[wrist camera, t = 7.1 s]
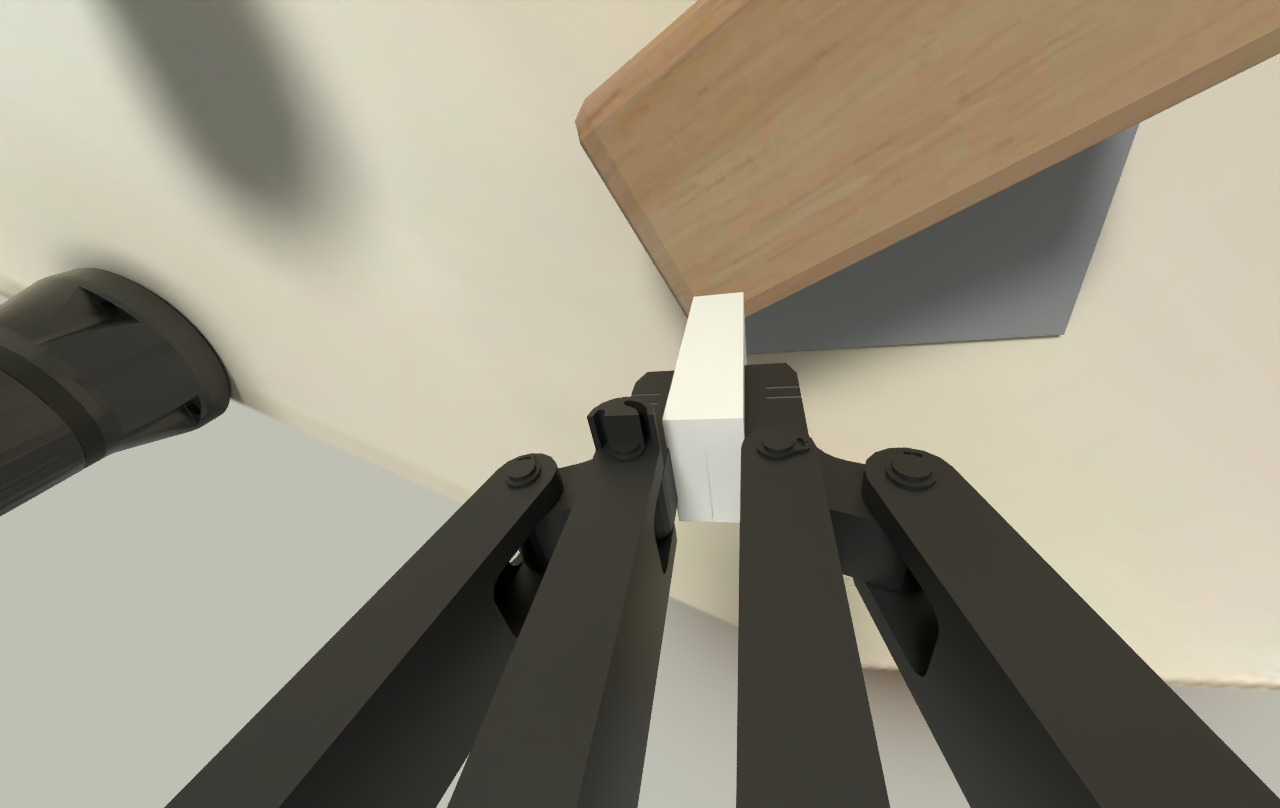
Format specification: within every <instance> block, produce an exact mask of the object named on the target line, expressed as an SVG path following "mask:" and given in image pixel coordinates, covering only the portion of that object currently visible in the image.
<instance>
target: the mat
mask: <svg viewBox="0 0 1280 808" xmlns="http://www.w3.org/2000/svg"><path fill="white" fill-rule="evenodd" d="M1138 126H1139V123H1138V124H1136V125H1134V126H1132V127H1130V128H1127V129H1125V130H1123V131H1121V132H1119V133H1117V134H1115V135H1113V136H1111V137H1109V138H1107V139H1105V140H1103V141H1101V142H1099V143H1097V144H1095V145H1093V146H1091V147H1089V148H1087V149H1085V150H1083V151H1081V152H1079V153H1077V154H1075V155H1073V156H1071V157H1069V158H1067V159H1065V160H1063V161H1061V162H1059V163H1057V164H1055V165H1053V166H1051V167H1049V168H1047V169H1045V170H1043V171H1041V172H1039V173H1037V174H1035V175H1033V176H1031V177H1029V178H1027V179H1024V180H1022V181H1020V182H1018V183H1016V184H1014V185H1012V186H1010V187H1008V188H1006V189H1004V190H1002V191H1000V192H998V193H996V194H994V195H992V196H990V197H988V198H986V199H984V200H982V201H980V202H978V203H976V204H974V205H972V206H970V207H968V208H966V209H964V210H962V211H960V212H958V213H956V214H954V215H952V216H950V217H948V218H946V219H944V220H942V221H940V222H938V223H936V224H934V225H932V226H930V227H928V228H926V229H924V230H921V231H919V232H917V233H915V234H913V235H911V236H909V237H907V238H905V239H903V240H901V241H899V242H897V243H895V244H893V245H891V246H889V247H887V248H885V249H883V250H881V251H879V252H877V253H875V254H873V255H871V256H869V257H867V258H865V259H863V260H861V261H859V262H857V263H855V264H853V265H851V266H849V267H847V268H845V269H843V270H841V271H839V272H837V273H835V274H833V275H831V276H829V277H827V278H825V279H823V280H820V281H818V282H816V283H814V284H812V285H810V286H808V287H806V288H804V289H802V290H800V291H798V292H796V293H794V294H792V295H790V296H788V297H786V298H784V299H782V300H780V301H778V302H776V303H774V304H772V305H770V306H768V307H766V308H764V309H762V310H760V311H758V312H756V313H754V314H752V315H750V316H748V317H746V318H745V336H746V354H760V353H776V352H792V351H808V350H824V349H840V348H856V347H872V346H888V345H904V344H920V343H936V342H952V341H968V340H984V339H1000V338H1016V337H1032V336H1048V335H1064V333H1065V330H1066V327H1067V324H1068V322H1069V319H1070V316H1071V313H1072V310H1073V308H1074V305H1075V302H1076V299H1077V296H1078V294H1079V291H1080V288H1081V285H1082V282H1083V280H1084V277H1085V274H1086V271H1087V268H1088V266H1089V263H1090V260H1091V257H1092V254H1093V252H1094V249H1095V246H1096V243H1097V240H1098V238H1099V235H1100V232H1101V229H1102V226H1103V224H1104V221H1105V218H1106V215H1107V212H1108V210H1109V207H1110V204H1111V201H1112V198H1113V196H1114V193H1115V190H1116V187H1117V184H1118V182H1119V179H1120V176H1121V173H1122V170H1123V168H1124V165H1125V162H1126V159H1127V156H1128V154H1129V151H1130V148H1131V145H1132V142H1133V140H1134V137H1135V134H1136V131H1137V129H1138Z"/></svg>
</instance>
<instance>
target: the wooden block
mask: <svg viewBox="0 0 1280 808" xmlns="http://www.w3.org/2000/svg"><path fill="white" fill-rule="evenodd" d="M1279 53H1280V0H698V1H697V2H696V3H695V4H693V5H692V6H691V7H690V8H689V9H688V10H687V11H685V12H684V13H683V14H682V15H681V16H680V17H679V18H677V19H676V20H675V21H674V22H673V23H672V24H671V25H669V26H668V27H667V28H666V29H665V30H664V31H663V32H661V33H660V34H659V35H658V36H657V37H656V38H655V39H653V40H652V41H651V42H650V43H649V44H648V45H647V46H645V47H644V48H643V49H642V50H641V51H640V52H638V53H637V54H636V55H635V56H634V57H633V58H632V59H630V60H629V61H628V62H627V63H626V64H625V65H624V66H622V67H621V68H620V69H619V70H618V71H617V72H616V73H614V74H613V75H612V76H611V77H610V78H609V79H608V80H606V81H605V82H604V83H603V84H602V85H601V86H600V87H598V88H597V89H596V90H595V91H594V92H593V93H592V94H590V95H589V96H588V97H587V98H586V99H585V101H584V103H583V105H582V107H581V109H580V111H579V113H578V115H577V117H576V119H575V123H576V126H577V131H578V135H579V140H580V144H581V146H582V147H583V149H584V151H585V152H586V154H587V156H588V157H589V159H590V160H591V162H592V164H593V165H594V167H595V169H596V170H597V172H598V173H599V175H600V177H601V178H602V180H603V182H604V183H605V185H606V186H607V188H608V190H609V191H610V193H611V195H612V196H613V198H614V200H615V201H616V203H617V204H618V206H619V208H620V209H621V211H622V213H623V214H624V216H625V217H626V219H627V221H628V222H629V224H630V226H631V227H632V229H633V230H634V232H635V234H636V235H637V237H638V239H639V240H640V242H641V243H642V245H643V247H644V248H645V250H646V252H647V253H648V255H649V256H650V258H651V260H652V261H653V263H654V265H655V266H656V268H657V270H658V271H659V273H660V274H661V276H662V278H663V279H664V281H665V283H666V284H667V286H668V287H669V289H670V291H671V292H672V294H673V296H674V297H675V299H676V300H677V302H678V304H679V305H680V307H681V309H682V310H683V312H684V313H685V315H686V317H687V318H688V317H689V313H690V309H691V305H692V301H693V297H697V296H707V295H718V294H728V293H739V292H743V293H744V315H745V318H746V317H748V316H750V315H752V314H754V313H756V312H758V311H760V310H762V309H764V308H766V307H768V306H770V305H772V304H774V303H776V302H778V301H780V300H782V299H784V298H786V297H788V296H790V295H792V294H794V293H796V292H798V291H800V290H802V289H804V288H806V287H808V286H810V285H812V284H814V283H816V282H818V281H820V280H823V279H825V278H827V277H829V276H831V275H833V274H835V273H837V272H839V271H841V270H843V269H845V268H847V267H849V266H851V265H853V264H855V263H857V262H859V261H861V260H863V259H865V258H867V257H869V256H871V255H873V254H875V253H877V252H879V251H881V250H883V249H885V248H887V247H889V246H891V245H893V244H895V243H897V242H899V241H901V240H903V239H905V238H907V237H909V236H911V235H913V234H915V233H917V232H919V231H921V230H924V229H926V228H928V227H930V226H932V225H934V224H936V223H938V222H940V221H942V220H944V219H946V218H948V217H950V216H952V215H954V214H956V213H958V212H960V211H962V210H964V209H966V208H968V207H970V206H972V205H974V204H976V203H978V202H980V201H982V200H984V199H986V198H988V197H990V196H992V195H994V194H996V193H998V192H1000V191H1002V190H1004V189H1006V188H1008V187H1010V186H1012V185H1014V184H1016V183H1018V182H1020V181H1022V180H1024V179H1027V178H1029V177H1031V176H1033V175H1035V174H1037V173H1039V172H1041V171H1043V170H1045V169H1047V168H1049V167H1051V166H1053V165H1055V164H1057V163H1059V162H1061V161H1063V160H1065V159H1067V158H1069V157H1071V156H1073V155H1075V154H1077V153H1079V152H1081V151H1083V150H1085V149H1087V148H1089V147H1091V146H1093V145H1095V144H1097V143H1099V142H1101V141H1103V140H1105V139H1107V138H1109V137H1111V136H1113V135H1115V134H1117V133H1119V132H1121V131H1123V130H1125V129H1127V128H1130V127H1132V126H1134V125H1136V124H1138V123H1140V122H1142V121H1144V120H1146V119H1148V118H1150V117H1152V116H1154V115H1156V114H1158V113H1160V112H1162V111H1164V110H1166V109H1168V108H1170V107H1172V106H1174V105H1176V104H1178V103H1180V102H1182V101H1184V100H1186V99H1188V98H1190V97H1192V96H1194V95H1196V94H1198V93H1200V92H1202V91H1204V90H1206V89H1208V88H1210V87H1212V86H1214V85H1216V84H1218V83H1220V82H1222V81H1224V80H1226V79H1228V78H1230V77H1233V76H1235V75H1237V74H1239V73H1241V72H1243V71H1245V70H1247V69H1249V68H1251V67H1253V66H1255V65H1257V64H1259V63H1261V62H1263V61H1265V60H1267V59H1269V58H1271V57H1273V56H1275V55H1277V54H1279Z"/></svg>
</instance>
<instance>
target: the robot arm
mask: <svg viewBox="0 0 1280 808" xmlns="http://www.w3.org/2000/svg"><path fill="white" fill-rule="evenodd" d="M229 401H230V389H229V384H228V380H227V377H226V375H225V372H224V370H223V368H222V366H221V364H220V362H219V360H218V359H217V357H216V355H215V354H214V352H213V351H212V349H211V348H210V347H209V345H208V344H207V343H206V341H205V340H204V339H203V338H202V336H201V335H200V334H199V333H198V332H197V331H196V330H195V329H194V327H193V326H192V325H191V324H190V323H189V322H188V321H187V320H186V319H184V318H183V317H182V316H181V315H180V314H179V313H178V312H177V311H176V310H174V309H173V308H172V307H171V306H170V305H168V304H167V303H166V302H164V301H163V300H162V299H160V298H159V297H158V296H156V295H155V294H153V293H152V292H150V291H149V290H147V289H145V288H144V287H142V286H140V285H138V284H136V283H135V282H133V281H131V280H129V279H126V278H124V277H122V276H119V275H117V274H114V273H111V272H108V271H104V270H99V269H92V268H82V269H76V270H72V271H68V272H64V273H61V274H57V275H53V276H49V277H46V278H43V279H41V280H39V281H37V282H35V283H34V284H32V285H31V286H29V287H28V288H26V289H24V290H23V291H21V292H20V293H18V294H17V295H15V296H14V297H12V298H11V299H9V300H7V301H6V302H4V303H3V304H1V305H0V516H2V515H4V514H6V513H7V512H9V511H11V510H13V509H14V508H16V507H18V506H19V505H21V504H23V503H25V502H27V501H28V500H30V499H32V498H34V497H36V496H37V495H39V494H41V493H42V492H44V491H46V490H48V489H50V488H51V487H53V486H55V485H57V484H58V483H60V482H62V481H64V480H65V479H67V478H69V477H71V476H72V475H74V474H76V473H78V472H80V471H81V470H83V469H84V468H86V467H88V466H90V465H92V464H93V463H95V462H97V461H99V460H101V459H102V458H104V457H106V456H108V455H110V454H113V453H115V452H118V451H122V450H125V449H129V448H132V447H136V446H140V445H143V444H147V443H150V442H154V441H158V440H161V439H165V438H168V437H172V436H175V435H179V434H183V433H186V432H189V431H193V430H195V429H198V428H200V427H202V426H203V425H205V424H207V423H208V422H210V421H212V420H213V419H215V418H217V417H218V416H220V415H221V414H222V413H224V412H225V410H226V409H227V407H228V404H229ZM587 419H588V423H589V426H590V430H591V434H592V437H593V441H594V444H595V448H596V452H595V454H594V456H593V459H591V460H589V461H586V462H583V463H580V464H576V465H571V466H567V467H563V468H558V467H557V464H556V462H555V461H554V460H553V459H552V457H550V456H547V455H545V454H533V453H531V454H527V455H523V456H519V457H517V458H515V459H513V460H510V461H508V462H507V463H506V464H504V465H503V466H502V467H500V468H499V469H498V470H497V471H496V472H495V473H494V474H493V475H492V476H491V477H490V478H489V479H488V480H487V481H486V482H485V483H484V484H483V485H482V486H481V487H480V488H479V489H478V490H477V491H476V492H475V493H474V494H473V495H472V496H471V497H470V498H469V499H468V500H467V501H466V502H465V503H464V504H463V505H462V506H461V507H460V508H459V510H457V511H456V512H455V513H454V515H452V517H451V518H450V519H449V520H448V521H447V522H446V523H445V524H444V525H443V526H442V527H441V528H440V529H439V530H438V531H437V532H436V533H435V534H434V535H433V536H432V537H431V538H430V539H429V540H428V541H427V542H426V543H425V544H424V545H423V546H422V547H421V548H420V549H419V550H418V551H417V552H416V553H415V554H414V555H413V556H412V557H411V558H410V559H409V560H408V561H407V562H406V563H405V564H404V565H403V566H402V567H401V568H400V569H399V570H398V571H397V572H396V573H395V574H394V575H393V576H392V577H391V578H390V579H389V580H388V581H387V582H386V583H385V585H384V586H383V587H381V588H380V589H379V590H378V592H377V593H376V594H375V595H374V596H373V597H372V598H371V599H370V600H369V601H368V602H367V603H366V604H365V605H364V606H363V607H362V608H361V609H360V610H359V611H358V612H357V613H356V614H355V615H354V616H353V617H352V618H351V619H350V620H349V621H348V622H347V623H346V624H345V625H344V626H343V627H342V628H341V629H340V630H339V631H338V632H337V633H336V634H335V635H334V636H333V637H332V638H331V639H330V640H329V641H328V642H327V643H326V644H325V645H324V646H323V647H322V648H321V649H320V650H319V651H318V653H316V654H315V655H314V656H313V657H312V658H311V659H310V660H309V662H308V663H306V664H305V666H304V667H303V668H302V669H301V670H300V671H299V672H298V673H297V674H296V675H295V676H294V677H293V678H292V679H291V680H290V681H289V682H288V683H287V684H286V685H285V686H284V687H283V688H282V689H281V690H280V691H279V692H278V693H277V694H276V695H275V696H274V697H273V698H272V699H271V700H270V701H269V702H268V703H267V704H266V705H265V706H264V707H263V708H262V709H261V710H260V711H259V712H258V713H257V714H256V715H255V716H254V717H253V718H252V719H251V720H250V721H249V722H248V723H247V724H246V725H245V726H244V727H243V728H242V729H241V731H239V732H238V733H237V734H236V735H235V737H234V738H233V739H232V740H231V741H230V742H229V743H228V744H227V745H226V746H225V747H224V748H223V749H222V750H221V751H220V752H219V753H218V754H217V755H216V756H215V757H214V758H213V759H212V760H211V761H210V762H209V763H208V764H207V765H206V766H205V767H204V768H203V769H202V770H201V771H200V772H199V773H198V774H197V775H196V776H195V777H194V778H193V779H192V780H191V781H190V782H189V783H188V784H187V785H186V786H185V787H184V788H183V789H182V790H181V791H180V792H179V793H178V794H177V795H176V796H175V797H174V798H173V799H172V800H171V802H169V803H168V804H167V806H166V807H164V808H436V806H437V805H438V803H439V802H440V800H441V798H442V797H443V795H444V794H445V792H446V790H447V789H448V787H449V786H450V784H451V782H452V781H453V779H454V777H455V776H456V774H457V772H458V771H459V769H460V768H461V766H462V764H463V763H464V761H465V759H466V758H467V756H468V755H469V756H468V759H467V761H466V764H465V766H464V768H463V771H462V773H461V776H460V778H459V780H458V783H457V785H456V788H455V790H454V792H453V795H452V797H451V800H450V802H449V804H448V807H447V808H637V806H638V800H639V793H640V786H641V779H642V773H643V766H644V759H645V752H646V745H647V739H648V732H649V725H650V719H651V712H652V705H653V698H654V692H655V685H656V678H657V671H658V665H659V658H660V650H661V644H662V637H663V631H664V624H665V617H666V610H667V603H668V597H669V590H670V584H671V577H672V570H673V563H674V557H675V550H676V543H677V538H676V530H675V524H674V520H675V514H676V508H677V510H678V516H679V521H701V522H737V523H740V560H739V638H738V716H737V717H738V718H737V719H738V720H737V722H738V723H737V724H738V725H737V794H736V795H737V796H736V808H890V805H889V800H888V795H887V790H886V785H885V780H884V775H883V771H882V765H881V761H880V756H879V751H878V746H877V741H876V737H875V731H874V726H873V721H872V716H871V712H870V707H869V702H868V697H867V692H866V687H865V682H864V677H863V672H862V668H861V663H860V658H859V653H858V648H857V643H856V638H855V633H854V628H853V623H852V619H851V614H850V609H849V604H848V599H847V594H846V589H845V584H844V579H843V574H844V575H847V576H850V577H853V580H854V584H855V586H856V588H857V590H858V592H859V594H860V595H861V597H862V599H863V601H864V603H865V605H866V607H867V609H868V611H869V613H870V615H871V617H872V619H873V620H874V622H875V624H876V626H877V628H878V630H879V632H880V634H881V636H882V638H883V640H884V642H885V644H886V645H887V647H888V649H889V651H890V653H891V655H892V657H893V659H894V661H895V663H896V665H897V667H898V669H899V670H900V672H901V674H902V676H903V678H904V680H905V682H906V684H907V686H908V688H909V690H910V692H911V693H912V695H913V697H914V699H915V701H916V703H917V705H918V707H919V709H920V711H921V713H922V715H923V716H924V719H925V720H926V722H927V724H928V726H929V728H930V730H931V732H932V734H933V736H934V738H935V740H936V742H937V744H938V745H939V747H940V749H941V751H942V753H943V755H944V757H945V759H946V761H947V763H948V765H949V767H950V768H951V770H952V772H953V774H954V776H955V778H956V780H957V782H958V784H959V786H960V788H961V790H962V792H963V793H964V795H965V797H966V799H967V801H968V803H969V805H970V807H971V808H1280V799H1279V798H1278V797H1277V796H1276V795H1275V794H1274V793H1273V792H1272V791H1271V790H1270V789H1269V788H1268V787H1267V786H1266V785H1265V784H1264V783H1263V782H1262V781H1261V779H1259V777H1258V776H1257V775H1256V774H1255V773H1254V772H1253V771H1252V770H1250V768H1249V767H1248V766H1247V765H1246V764H1245V763H1244V762H1243V761H1242V760H1241V759H1240V758H1239V757H1238V756H1237V755H1236V754H1235V753H1234V752H1233V751H1232V750H1231V749H1230V748H1229V747H1228V746H1227V745H1226V744H1225V743H1224V742H1223V741H1222V740H1221V739H1220V738H1219V737H1218V736H1217V735H1216V734H1215V733H1214V732H1213V731H1212V730H1211V729H1210V728H1209V727H1208V726H1207V725H1206V724H1205V723H1204V722H1203V721H1202V720H1201V719H1200V718H1199V717H1198V716H1197V715H1196V713H1195V712H1194V711H1193V710H1192V709H1191V708H1190V707H1189V706H1188V705H1187V704H1186V703H1185V702H1184V701H1183V700H1182V699H1181V698H1180V697H1179V696H1178V695H1177V694H1176V693H1175V692H1174V691H1173V690H1172V689H1171V688H1170V687H1169V686H1168V685H1167V684H1166V683H1165V682H1164V681H1163V680H1162V679H1161V678H1160V677H1159V676H1158V675H1157V674H1156V673H1155V672H1154V671H1153V670H1152V669H1151V668H1150V667H1149V666H1148V665H1147V664H1146V663H1145V662H1144V661H1143V660H1142V659H1141V658H1140V657H1139V656H1138V655H1137V654H1136V653H1135V652H1134V650H1133V649H1132V648H1131V647H1130V646H1129V645H1128V644H1127V643H1126V642H1125V641H1124V640H1123V639H1122V638H1121V637H1120V636H1119V635H1118V634H1117V633H1116V632H1115V631H1114V630H1113V629H1112V628H1111V627H1110V626H1109V625H1108V624H1107V623H1106V622H1105V621H1104V620H1103V619H1102V618H1101V617H1100V616H1099V615H1098V614H1097V613H1096V612H1095V611H1094V610H1093V609H1092V608H1091V607H1090V606H1089V605H1088V604H1087V603H1086V602H1085V601H1084V600H1083V599H1082V598H1081V597H1080V596H1079V595H1078V594H1077V593H1076V592H1075V591H1074V590H1073V589H1072V588H1071V587H1070V585H1069V584H1068V583H1067V582H1066V581H1065V580H1064V579H1063V578H1062V577H1061V576H1060V575H1059V574H1058V573H1057V572H1056V571H1055V570H1054V569H1053V568H1052V567H1051V566H1050V565H1049V564H1048V563H1047V562H1046V561H1045V560H1044V559H1043V558H1042V557H1041V556H1040V555H1039V554H1038V553H1037V552H1036V551H1035V550H1034V549H1033V548H1032V547H1031V546H1030V545H1029V544H1028V543H1027V542H1026V541H1025V540H1024V539H1023V538H1022V537H1021V536H1020V535H1019V534H1018V533H1017V532H1016V531H1015V530H1014V529H1013V528H1012V527H1011V526H1010V525H1009V524H1008V523H1007V522H1006V520H1005V519H1004V518H1003V517H1002V516H1001V515H1000V514H999V513H998V512H997V511H996V510H995V509H994V508H993V507H992V506H991V505H990V504H989V503H988V502H987V501H986V500H985V499H984V498H983V497H982V496H981V495H980V494H979V493H978V492H977V491H976V490H975V489H974V488H973V487H972V486H971V485H970V484H969V483H968V482H967V481H966V480H965V479H964V478H963V477H962V476H961V475H960V474H959V473H958V472H957V471H956V470H955V469H954V468H953V467H952V466H951V465H949V464H948V463H947V462H945V461H944V460H943V459H941V458H940V457H937V456H935V455H933V454H930V453H928V452H925V451H922V450H916V449H911V448H888V449H885V450H881V451H878V452H875V453H874V454H873V455H872V456H870V457H869V458H868V459H867V461H866V464H861V463H856V462H851V461H846V460H843V459H839V458H835V457H833V456H831V455H829V454H826V453H824V452H823V451H821V450H820V449H819V448H817V447H816V445H815V443H814V442H813V440H812V438H810V437H809V434H808V429H807V424H806V419H805V414H804V408H803V403H802V398H801V393H800V388H799V383H798V377H797V373H796V372H795V371H794V370H793V369H792V368H791V367H790V366H789V365H787V364H786V363H776V364H759V365H747V357H746V336H745V315H744V293H743V292H739V293H728V294H718V295H707V296H697V297H693V301H692V305H691V309H690V313H689V317H688V321H687V325H686V329H685V332H684V336H683V340H682V344H681V348H680V352H679V356H678V360H677V364H676V368H675V371H659V372H647V373H646V374H645V375H644V376H642V377H641V378H640V379H639V380H638V381H637V382H636V383H635V386H634V389H633V391H632V396H631V397H622V398H616V399H612V400H609V401H607V402H604V403H602V404H600V405H599V406H597V407H595V408H594V409H593V410H592V411H591V412H590V413H589V415H588V416H587ZM518 549H519V552H520V554H519V555H518V556H517V557H516V558H515V559H514V560H513V561H512V562H510V563H509V561H510V560H511V558H512V557H513V556H514V555H515V553H516V552H517V551H518ZM469 753H470V754H469Z"/></svg>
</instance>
